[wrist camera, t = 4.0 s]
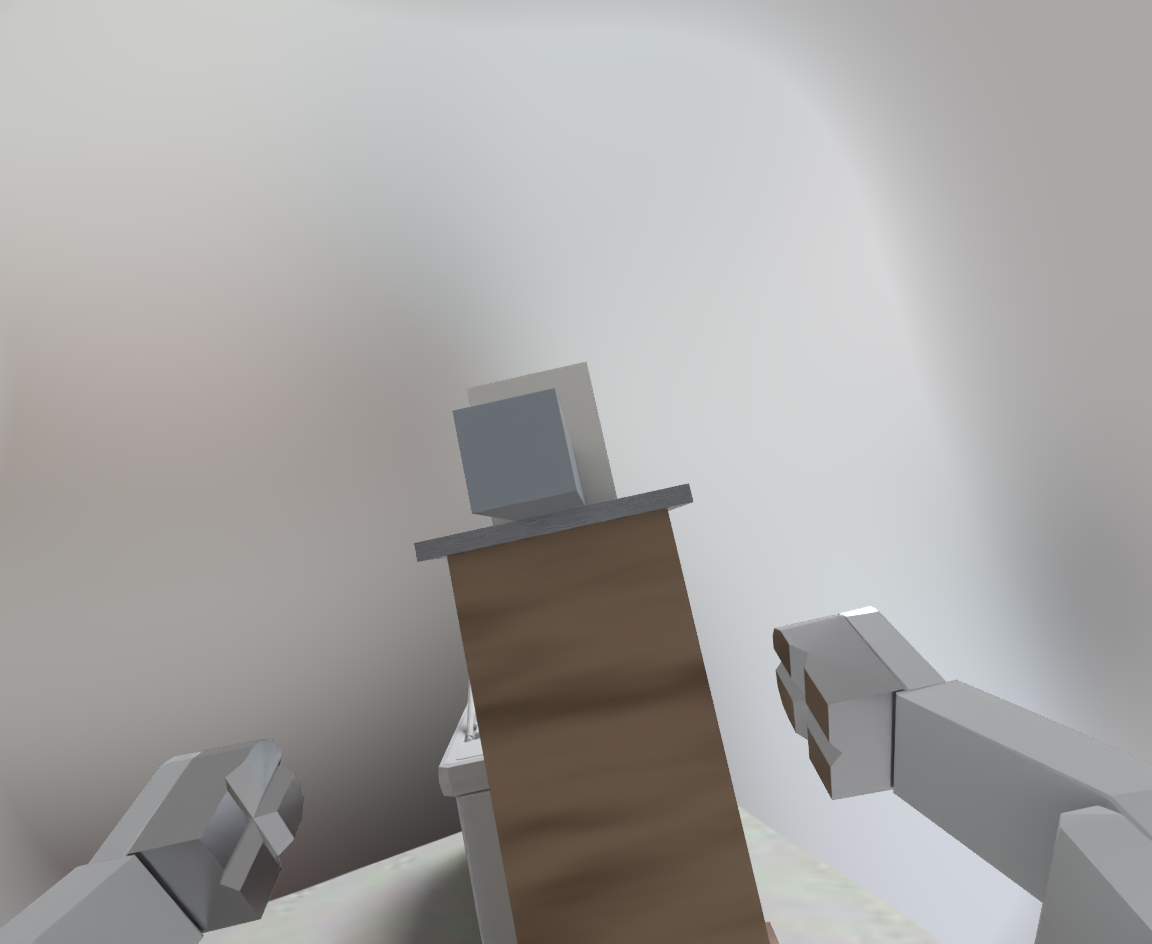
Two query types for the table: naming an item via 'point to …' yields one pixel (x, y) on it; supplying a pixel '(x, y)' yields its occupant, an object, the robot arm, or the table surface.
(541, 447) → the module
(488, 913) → the stereo radio cassette player
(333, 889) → the table surface
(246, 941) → the table surface
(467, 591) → the stand
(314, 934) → the table surface
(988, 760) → the robot arm
